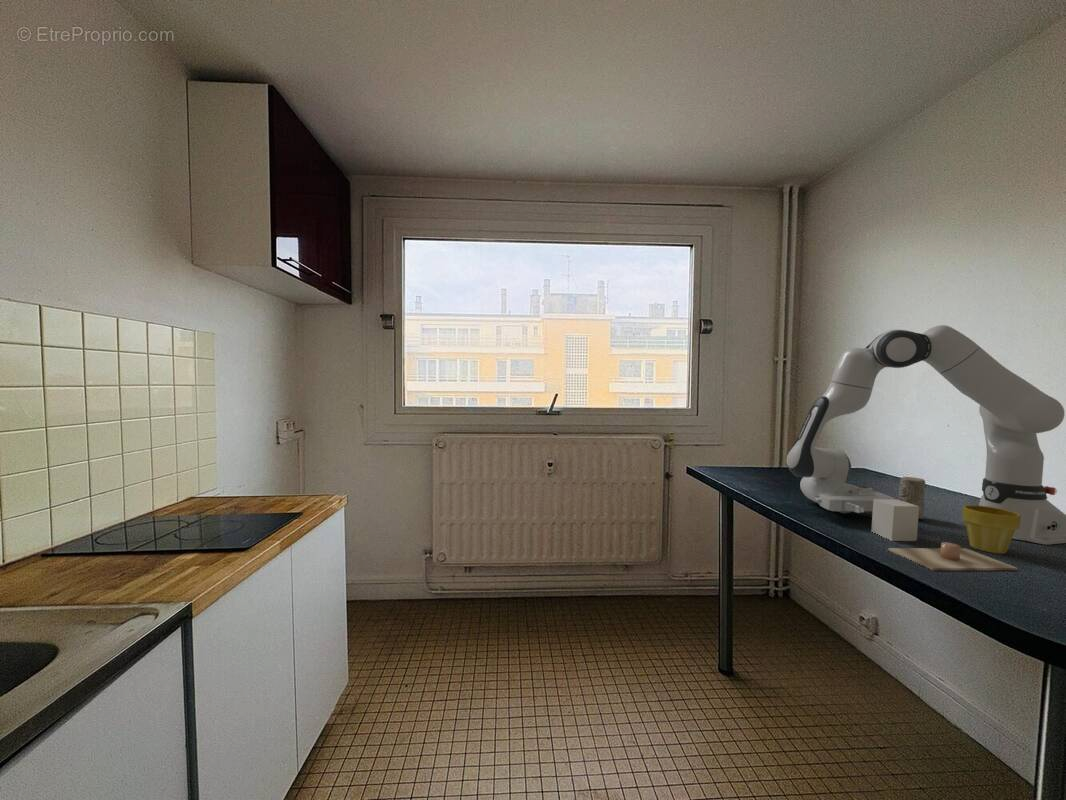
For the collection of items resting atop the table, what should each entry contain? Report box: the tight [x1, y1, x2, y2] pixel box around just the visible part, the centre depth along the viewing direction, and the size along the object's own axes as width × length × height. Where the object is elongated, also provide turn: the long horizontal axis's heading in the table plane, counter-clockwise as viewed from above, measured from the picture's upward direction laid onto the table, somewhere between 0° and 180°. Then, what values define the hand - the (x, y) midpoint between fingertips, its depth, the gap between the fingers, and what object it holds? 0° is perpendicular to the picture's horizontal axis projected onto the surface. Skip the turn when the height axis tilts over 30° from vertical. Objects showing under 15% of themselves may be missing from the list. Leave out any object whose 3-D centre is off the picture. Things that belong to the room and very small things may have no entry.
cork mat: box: [887, 547, 1019, 571], centre depth 112 cm, size 20×12×1 cm, turn 94°
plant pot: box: [961, 504, 1021, 555], centre depth 120 cm, size 10×10×10 cm
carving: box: [898, 476, 926, 520], centre depth 146 cm, size 6×8×12 cm
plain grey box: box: [870, 498, 919, 542], centre depth 128 cm, size 7×7×9 cm
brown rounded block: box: [940, 541, 962, 560], centre depth 112 cm, size 3×3×3 cm
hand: (877, 510), depth 133 cm, fingers open, 8 cm apart
